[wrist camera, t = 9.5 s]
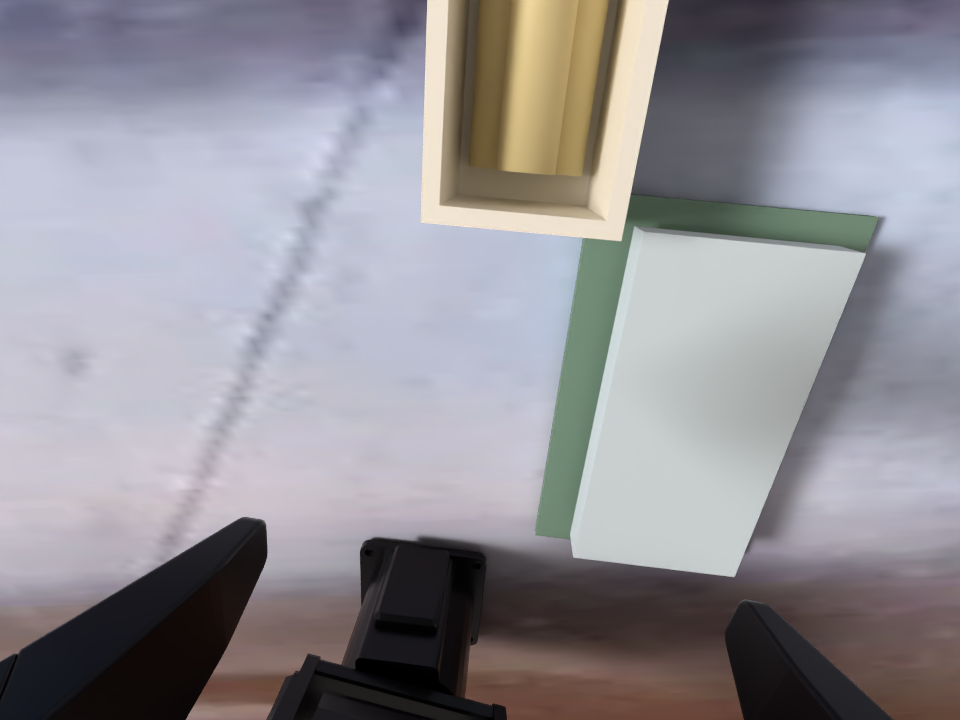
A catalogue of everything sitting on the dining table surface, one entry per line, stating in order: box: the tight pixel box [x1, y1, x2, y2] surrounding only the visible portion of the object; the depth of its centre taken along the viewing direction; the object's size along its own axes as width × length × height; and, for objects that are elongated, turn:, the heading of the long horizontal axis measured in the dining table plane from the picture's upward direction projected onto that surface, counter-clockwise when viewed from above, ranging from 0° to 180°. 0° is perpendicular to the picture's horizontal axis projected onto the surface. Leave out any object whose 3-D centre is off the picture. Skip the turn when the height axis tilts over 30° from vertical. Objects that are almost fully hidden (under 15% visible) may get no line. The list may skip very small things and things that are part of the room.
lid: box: [570, 226, 866, 577], centre depth 19 cm, size 14×7×2 cm, turn 175°
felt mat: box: [535, 195, 879, 558], centre depth 20 cm, size 16×10×1 cm, turn 176°
